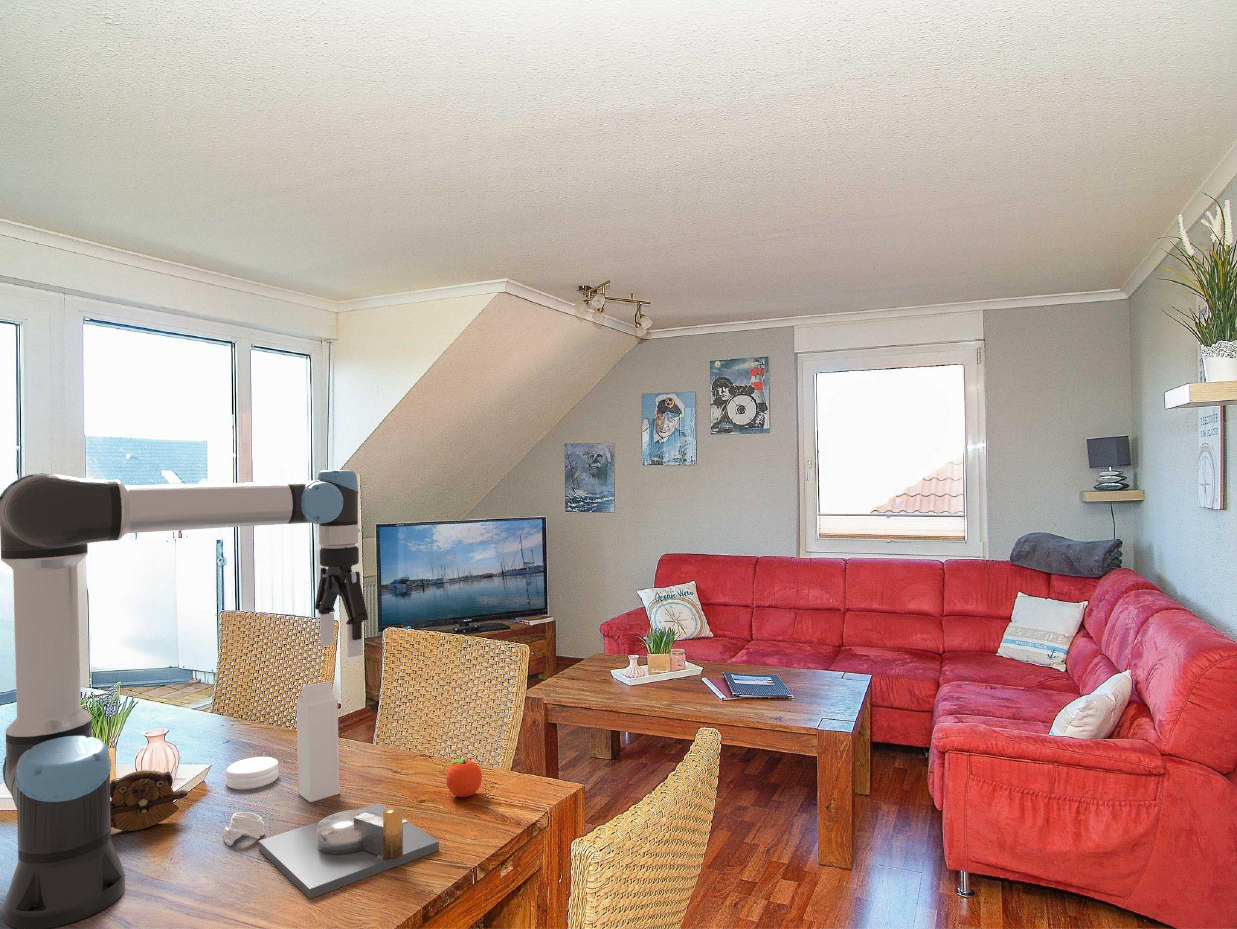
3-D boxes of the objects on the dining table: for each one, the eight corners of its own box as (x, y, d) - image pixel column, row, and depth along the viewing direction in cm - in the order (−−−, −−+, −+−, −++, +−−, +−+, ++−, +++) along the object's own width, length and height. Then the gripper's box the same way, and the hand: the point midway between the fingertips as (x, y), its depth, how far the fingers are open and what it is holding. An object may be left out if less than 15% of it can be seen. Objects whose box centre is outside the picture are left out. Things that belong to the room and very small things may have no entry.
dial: (304, 844, 137) (303, 801, 137) (352, 822, 145) (351, 781, 145) (375, 871, 128) (374, 824, 128) (422, 845, 136) (421, 801, 136)
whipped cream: (219, 840, 145) (215, 813, 145) (258, 825, 149) (254, 799, 149) (231, 853, 139) (227, 825, 139) (271, 837, 143) (268, 810, 143)
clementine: (435, 801, 158) (434, 764, 158) (451, 787, 165) (450, 752, 165) (473, 804, 156) (473, 767, 156) (487, 790, 163) (487, 754, 163)
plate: (309, 898, 123) (309, 887, 123) (258, 849, 139) (258, 839, 139) (439, 850, 138) (438, 840, 138) (379, 810, 154) (379, 801, 154)
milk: (339, 794, 162) (338, 683, 162) (309, 803, 158) (308, 689, 158) (326, 785, 167) (325, 677, 167) (297, 793, 163) (296, 683, 163)
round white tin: (260, 791, 165) (260, 774, 165) (215, 789, 166) (215, 772, 166) (288, 773, 174) (287, 756, 174) (245, 771, 176) (245, 754, 176)
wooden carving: (84, 846, 142) (83, 788, 142) (84, 836, 145) (83, 780, 145) (190, 821, 151) (189, 767, 151) (187, 813, 155) (187, 760, 155)
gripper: (384, 548, 159) (386, 657, 159) (332, 540, 177) (334, 638, 178) (347, 551, 154) (348, 664, 154) (297, 543, 172) (299, 643, 173)
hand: (340, 650), depth 166 cm, fingers open, 13 cm apart
